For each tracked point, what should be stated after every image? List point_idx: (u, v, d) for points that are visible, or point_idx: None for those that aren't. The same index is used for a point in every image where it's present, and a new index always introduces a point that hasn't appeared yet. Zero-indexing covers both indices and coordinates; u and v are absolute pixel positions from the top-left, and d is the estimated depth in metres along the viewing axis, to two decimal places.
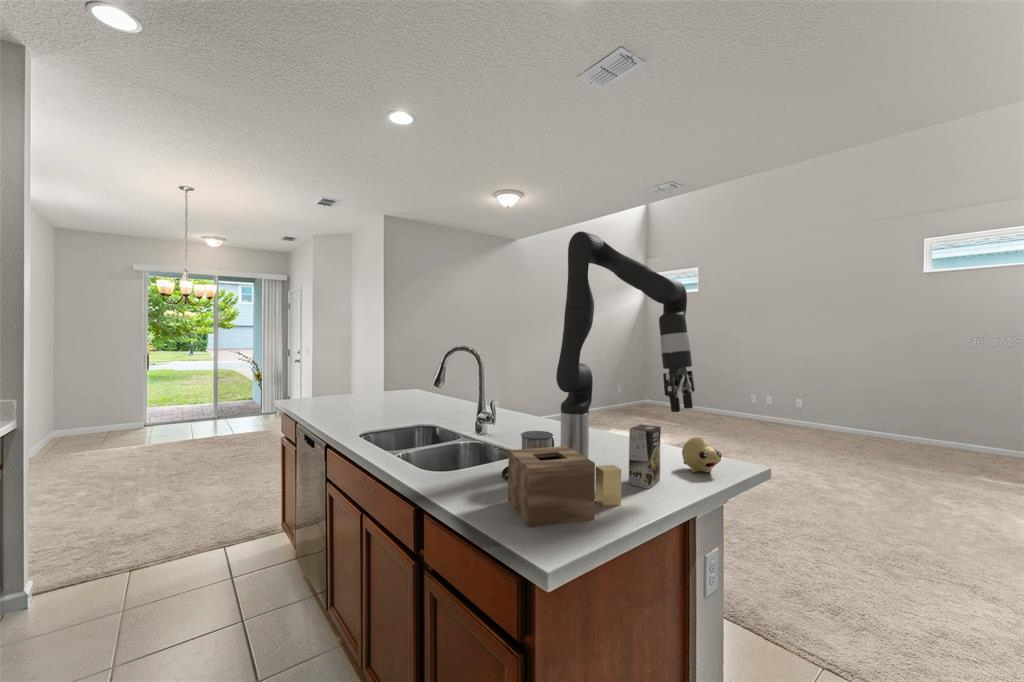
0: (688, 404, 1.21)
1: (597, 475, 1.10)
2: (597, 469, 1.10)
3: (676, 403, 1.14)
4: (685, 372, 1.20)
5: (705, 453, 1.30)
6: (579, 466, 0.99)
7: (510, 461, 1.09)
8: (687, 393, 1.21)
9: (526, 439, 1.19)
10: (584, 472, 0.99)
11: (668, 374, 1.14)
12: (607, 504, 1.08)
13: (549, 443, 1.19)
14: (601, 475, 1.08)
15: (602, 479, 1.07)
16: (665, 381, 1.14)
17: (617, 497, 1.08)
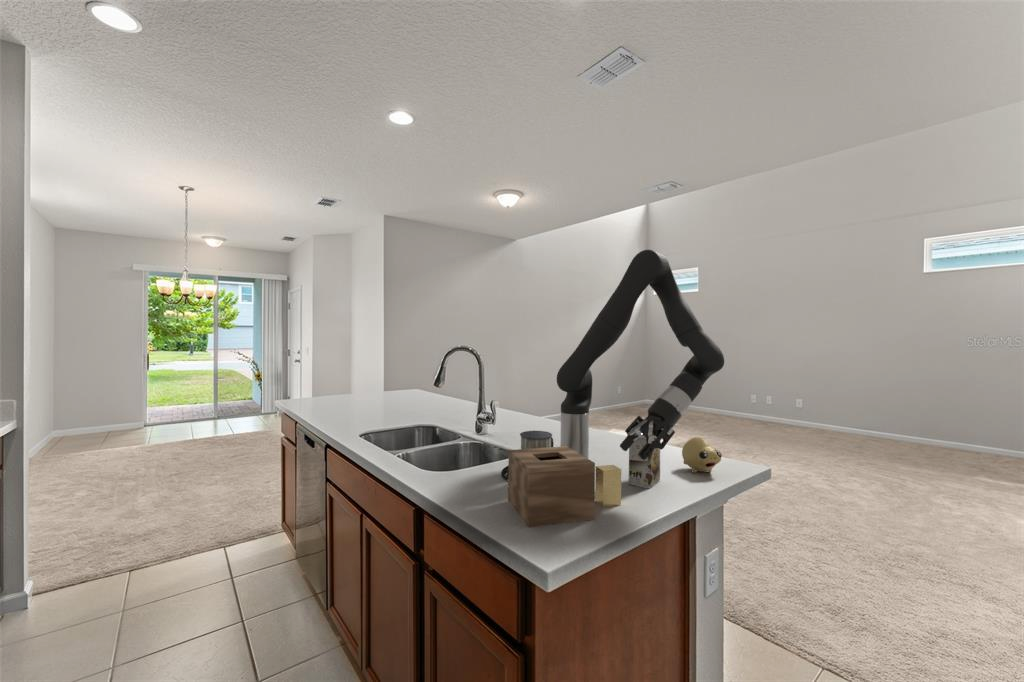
0: (626, 447, 1.16)
1: (597, 475, 1.10)
2: (597, 469, 1.10)
3: None
4: None
5: (705, 453, 1.30)
6: (579, 466, 0.99)
7: (510, 461, 1.09)
8: (632, 438, 1.17)
9: (525, 439, 1.19)
10: (584, 472, 0.99)
11: (672, 430, 1.07)
12: (607, 504, 1.08)
13: (548, 443, 1.19)
14: (601, 475, 1.08)
15: (602, 479, 1.07)
16: (666, 433, 1.07)
17: (617, 497, 1.08)
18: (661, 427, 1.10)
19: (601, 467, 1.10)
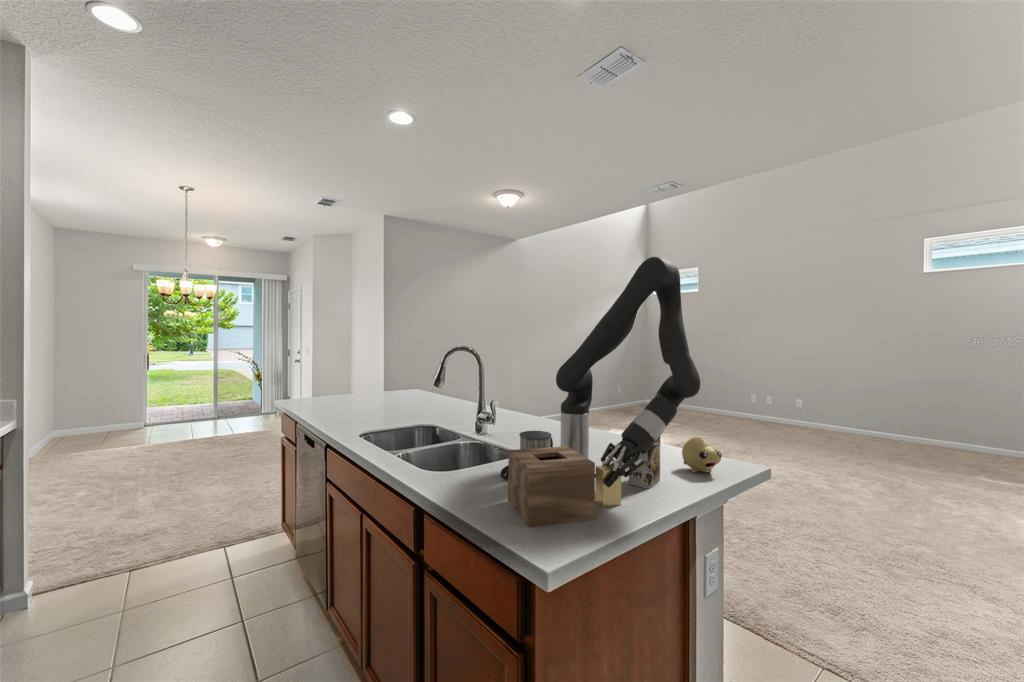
0: None
1: (597, 475, 1.10)
2: (597, 469, 1.10)
3: None
4: None
5: (705, 453, 1.30)
6: (579, 466, 0.99)
7: (510, 461, 1.09)
8: None
9: (524, 439, 1.19)
10: (584, 472, 0.99)
11: (640, 461, 1.05)
12: (607, 504, 1.08)
13: (547, 443, 1.19)
14: (600, 475, 1.08)
15: (602, 479, 1.07)
16: (632, 463, 1.05)
17: (617, 497, 1.08)
18: (632, 454, 1.07)
19: (601, 467, 1.10)
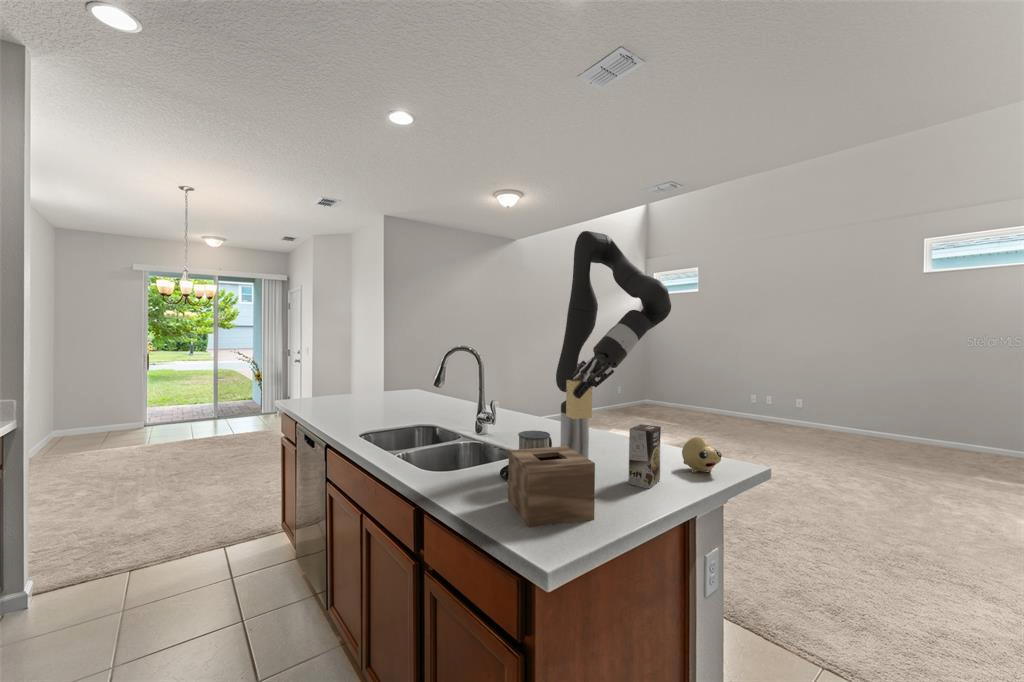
0: None
1: (568, 388, 1.07)
2: (568, 382, 1.07)
3: (584, 391, 1.04)
4: None
5: (705, 453, 1.30)
6: (579, 466, 0.99)
7: (510, 461, 1.09)
8: None
9: (523, 439, 1.19)
10: (584, 472, 0.99)
11: (610, 369, 1.02)
12: (577, 416, 1.05)
13: (546, 443, 1.19)
14: (571, 387, 1.06)
15: (573, 390, 1.05)
16: (602, 372, 1.02)
17: (588, 410, 1.06)
18: (603, 365, 1.05)
19: (572, 380, 1.07)
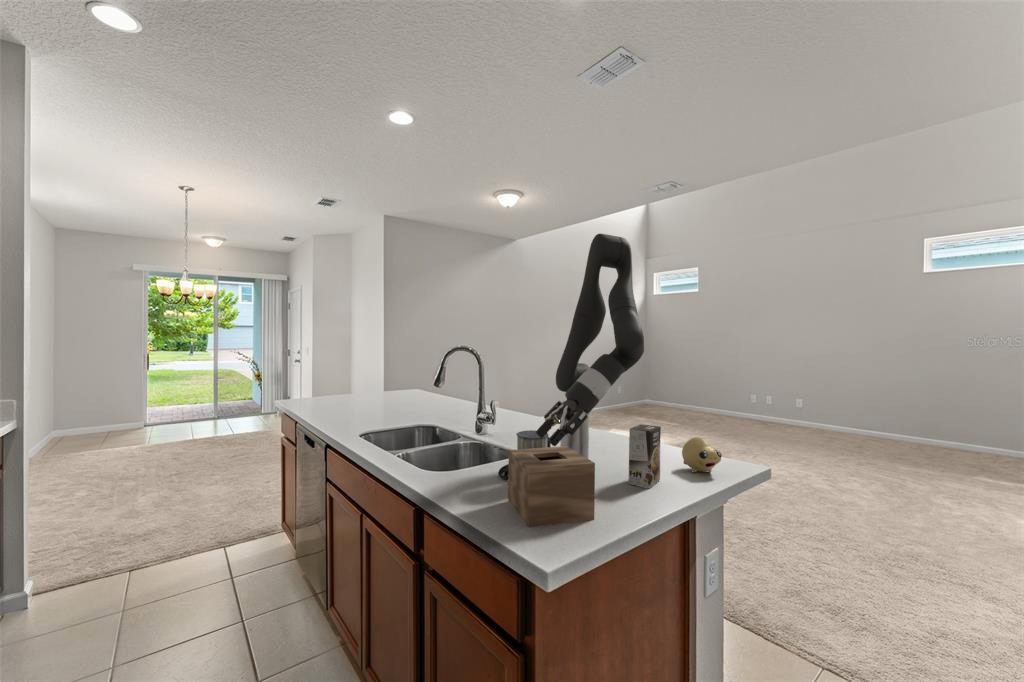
0: (542, 433, 1.09)
1: None
2: None
3: (560, 439, 1.01)
4: None
5: (705, 453, 1.30)
6: (579, 466, 0.99)
7: (510, 461, 1.09)
8: (550, 424, 1.10)
9: (521, 439, 1.19)
10: (584, 472, 0.99)
11: (584, 414, 1.00)
12: None
13: (544, 443, 1.19)
14: None
15: None
16: (577, 417, 1.00)
17: None
18: (575, 411, 1.03)
19: None
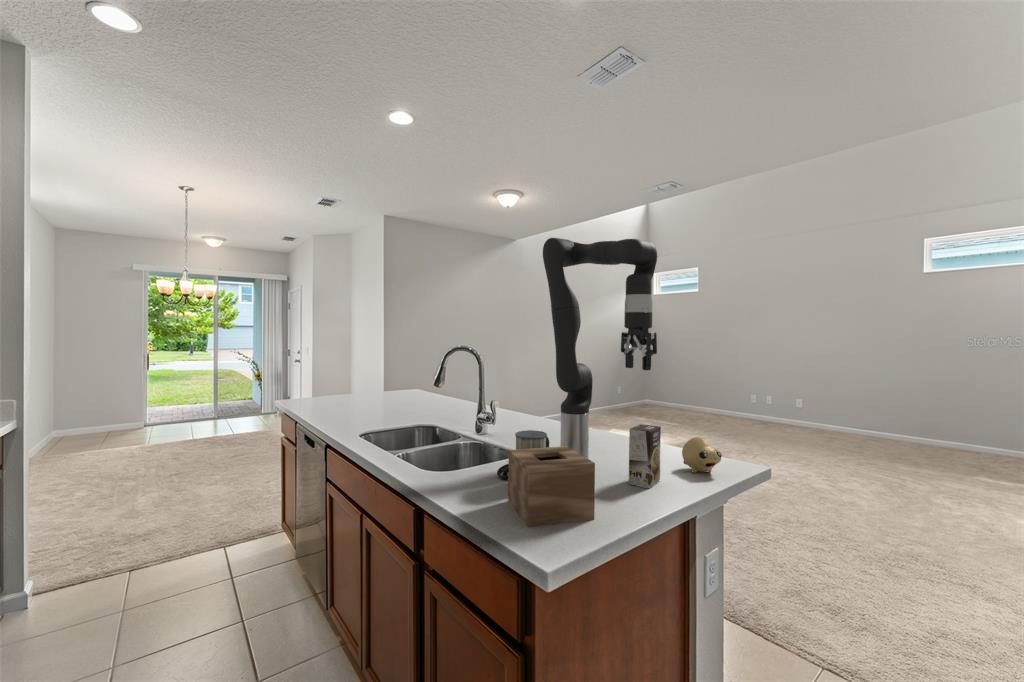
0: (630, 364, 1.26)
1: None
2: None
3: None
4: None
5: (705, 453, 1.30)
6: (579, 466, 0.99)
7: (510, 461, 1.09)
8: (630, 353, 1.26)
9: (520, 438, 1.19)
10: (584, 472, 0.99)
11: (653, 333, 1.16)
12: None
13: (543, 443, 1.19)
14: None
15: None
16: (650, 340, 1.15)
17: None
18: (644, 336, 1.18)
19: None
